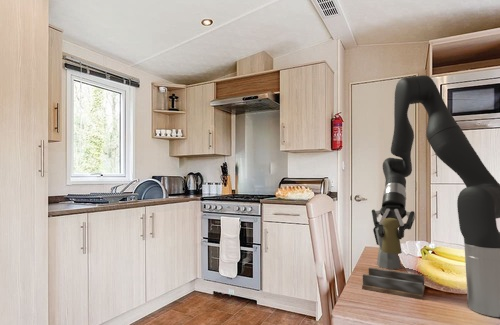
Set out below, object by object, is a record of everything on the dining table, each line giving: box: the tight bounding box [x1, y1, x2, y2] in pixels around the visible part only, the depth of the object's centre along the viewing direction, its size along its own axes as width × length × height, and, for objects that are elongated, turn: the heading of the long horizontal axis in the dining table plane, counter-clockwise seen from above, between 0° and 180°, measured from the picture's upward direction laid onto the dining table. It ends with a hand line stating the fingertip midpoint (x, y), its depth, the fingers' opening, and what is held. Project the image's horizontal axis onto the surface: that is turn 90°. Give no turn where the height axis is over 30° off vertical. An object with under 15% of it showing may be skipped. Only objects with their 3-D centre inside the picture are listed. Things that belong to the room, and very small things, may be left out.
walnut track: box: [361, 267, 426, 300], centre depth 98 cm, size 17×13×4 cm
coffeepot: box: [372, 226, 402, 270], centre depth 124 cm, size 15×9×18 cm, turn 13°
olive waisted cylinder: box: [382, 218, 403, 255], centre depth 99 cm, size 6×6×11 cm
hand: (390, 236), depth 97 cm, fingers closed on olive waisted cylinder, 5 cm apart
